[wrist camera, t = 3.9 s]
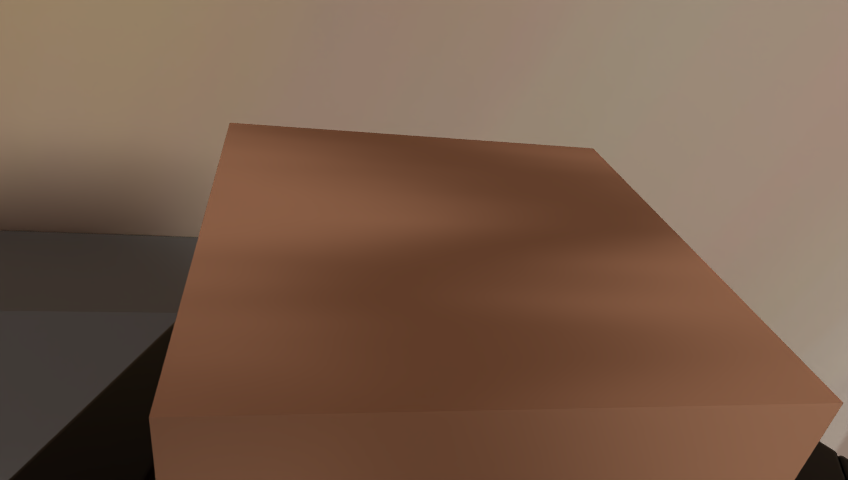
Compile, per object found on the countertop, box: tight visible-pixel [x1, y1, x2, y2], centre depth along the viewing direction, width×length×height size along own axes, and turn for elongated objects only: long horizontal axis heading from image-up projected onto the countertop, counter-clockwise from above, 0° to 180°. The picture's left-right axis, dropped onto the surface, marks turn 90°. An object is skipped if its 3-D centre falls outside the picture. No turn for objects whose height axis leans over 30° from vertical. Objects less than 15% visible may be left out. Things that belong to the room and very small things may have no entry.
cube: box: [149, 123, 843, 480], centre depth 8 cm, size 5×5×5 cm
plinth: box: [0, 231, 198, 480], centre depth 18 cm, size 12×12×4 cm
